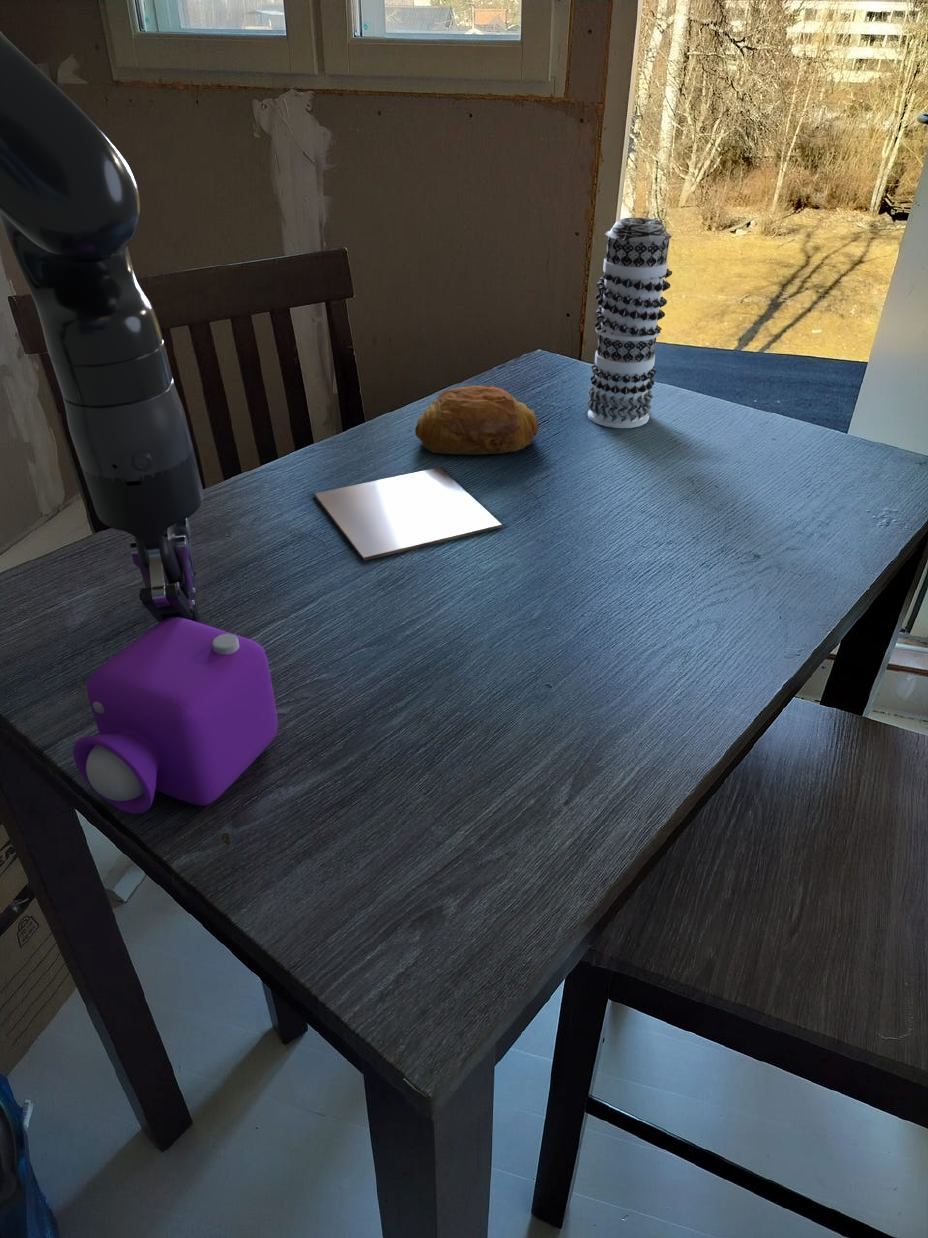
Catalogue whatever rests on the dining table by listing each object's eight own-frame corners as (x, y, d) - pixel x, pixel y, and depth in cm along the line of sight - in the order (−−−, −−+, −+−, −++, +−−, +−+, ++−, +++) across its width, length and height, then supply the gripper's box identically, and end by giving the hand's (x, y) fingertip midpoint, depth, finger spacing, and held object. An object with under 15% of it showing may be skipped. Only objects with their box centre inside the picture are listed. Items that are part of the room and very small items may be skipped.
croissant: (534, 478, 107) (547, 418, 102) (411, 461, 106) (418, 400, 101) (528, 429, 119) (539, 374, 114) (417, 414, 117) (423, 357, 112)
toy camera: (64, 826, 58) (20, 717, 52) (169, 699, 69) (142, 597, 63) (208, 859, 56) (179, 748, 50) (293, 722, 67) (277, 618, 61)
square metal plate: (363, 561, 86) (363, 557, 86) (314, 496, 98) (314, 493, 98) (502, 527, 92) (502, 524, 92) (439, 470, 104) (439, 466, 104)
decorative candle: (662, 426, 115) (691, 226, 101) (598, 431, 114) (618, 229, 99) (637, 402, 123) (661, 212, 108) (576, 406, 121) (592, 215, 107)
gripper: (91, 416, 64) (148, 602, 74) (64, 501, 53) (135, 704, 64) (194, 405, 65) (236, 590, 75) (187, 486, 54) (237, 688, 65)
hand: (189, 642), depth 69 cm, fingers closed
